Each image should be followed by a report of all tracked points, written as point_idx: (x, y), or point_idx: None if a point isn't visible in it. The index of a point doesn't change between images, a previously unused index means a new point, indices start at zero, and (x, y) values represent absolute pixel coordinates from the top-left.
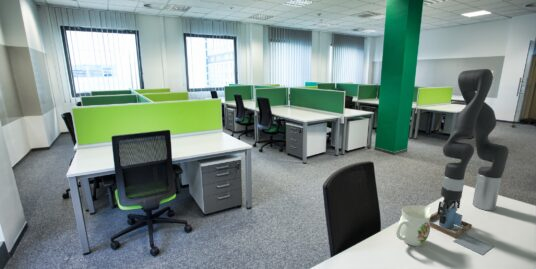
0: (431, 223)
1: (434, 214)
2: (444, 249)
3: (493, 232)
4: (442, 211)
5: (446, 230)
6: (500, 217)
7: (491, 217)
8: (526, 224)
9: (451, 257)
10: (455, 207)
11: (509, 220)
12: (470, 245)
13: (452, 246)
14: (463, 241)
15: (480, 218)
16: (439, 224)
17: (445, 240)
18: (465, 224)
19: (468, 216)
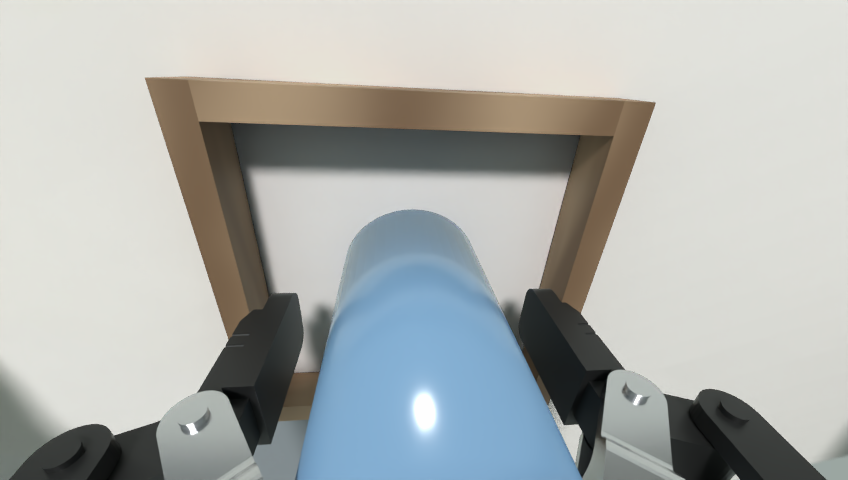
0: (192, 223)
1: (491, 118)
2: (26, 417)
3: (578, 437)
4: (242, 460)
5: None
6: (839, 388)
7: (814, 367)
8: None
9: (6, 464)
10: None
11: (812, 418)
12: (276, 455)
13: (136, 420)
14: (278, 426)
15: (757, 343)
16: (361, 231)
17: (151, 371)
18: (533, 366)
19: (750, 290)
